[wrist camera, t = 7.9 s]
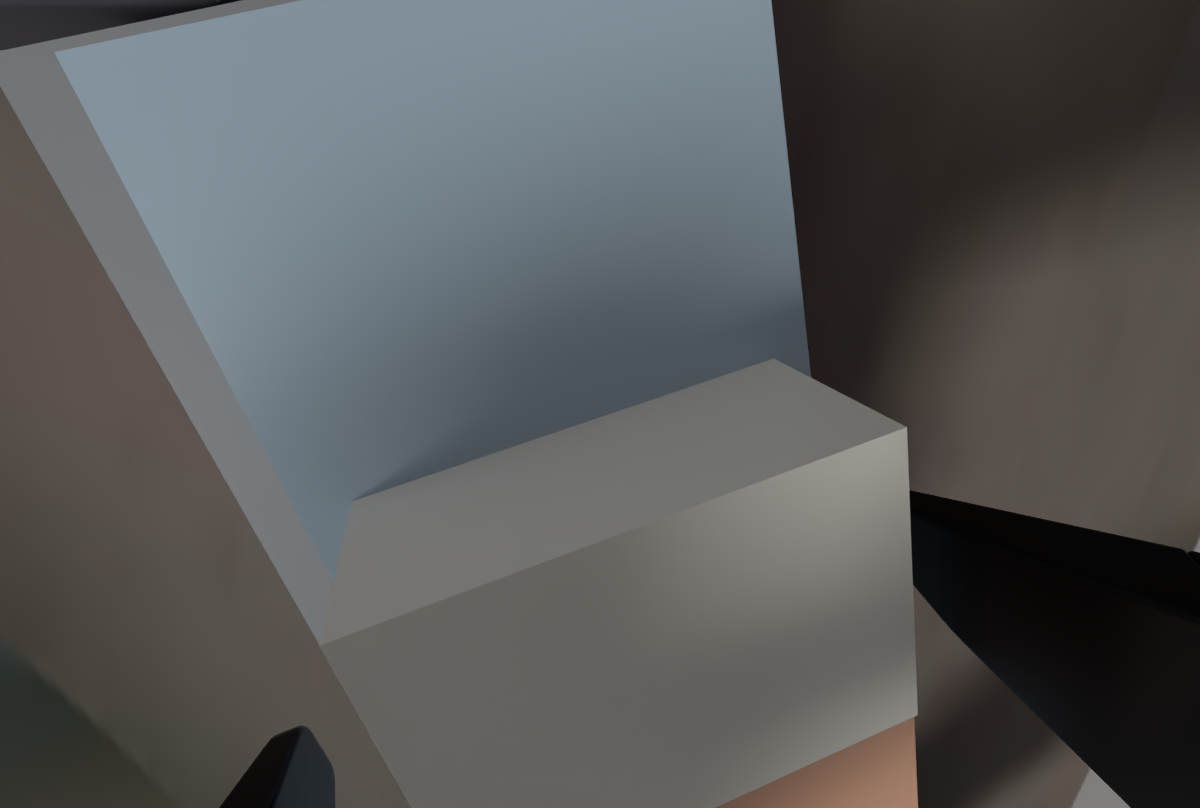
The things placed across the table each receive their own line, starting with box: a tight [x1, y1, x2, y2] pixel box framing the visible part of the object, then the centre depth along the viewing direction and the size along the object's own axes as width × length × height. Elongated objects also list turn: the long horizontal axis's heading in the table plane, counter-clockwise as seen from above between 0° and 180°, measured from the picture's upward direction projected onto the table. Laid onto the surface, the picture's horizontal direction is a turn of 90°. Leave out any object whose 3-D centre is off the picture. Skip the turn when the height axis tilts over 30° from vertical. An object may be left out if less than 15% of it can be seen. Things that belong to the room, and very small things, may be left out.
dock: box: [0, 0, 333, 643], centre depth 13 cm, size 18×10×4 cm, turn 14°
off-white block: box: [319, 359, 918, 808], centre depth 7 cm, size 4×5×2 cm
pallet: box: [54, 0, 811, 582], centre depth 10 cm, size 16×6×4 cm, turn 14°
